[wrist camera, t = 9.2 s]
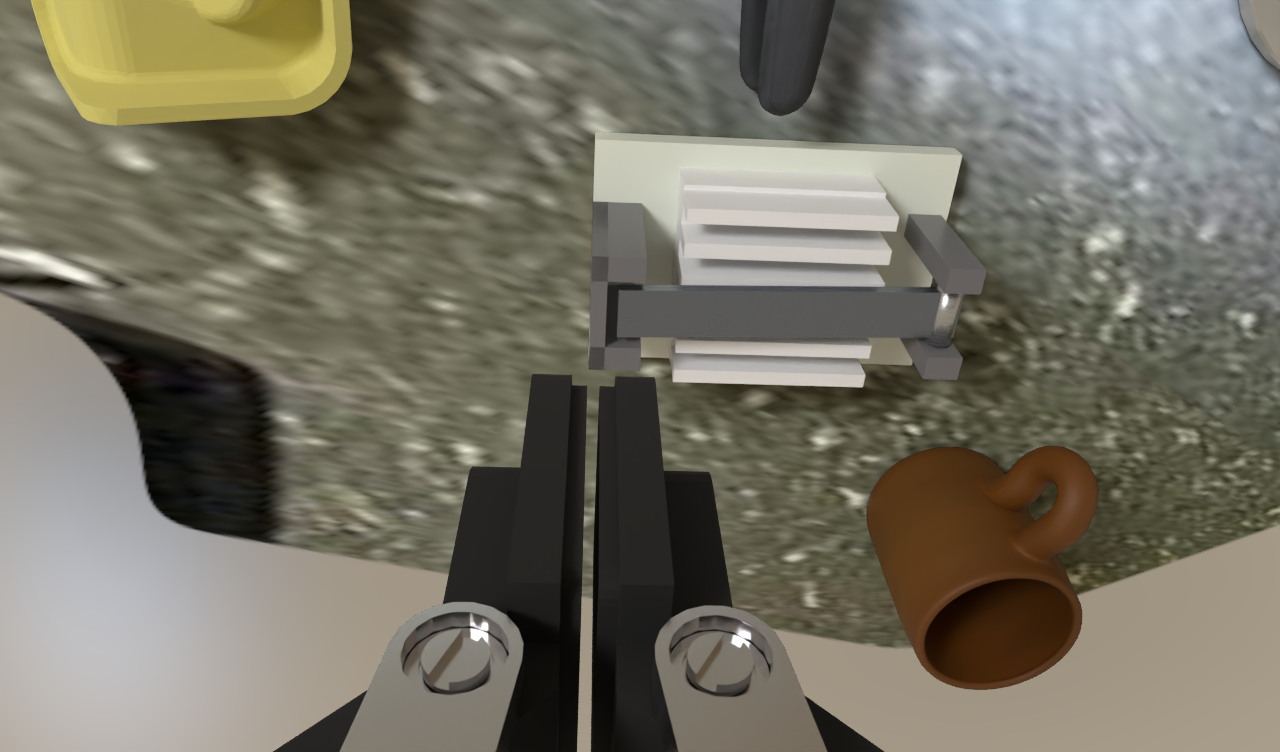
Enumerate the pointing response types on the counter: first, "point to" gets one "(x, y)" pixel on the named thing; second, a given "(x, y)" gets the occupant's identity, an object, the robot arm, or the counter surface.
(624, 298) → the grey long flat bar
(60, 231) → the counter surface
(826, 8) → the can opener
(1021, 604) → the mug
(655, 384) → the robot arm
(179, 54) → the plastic component
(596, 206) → the heatsink board
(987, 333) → the counter surface
